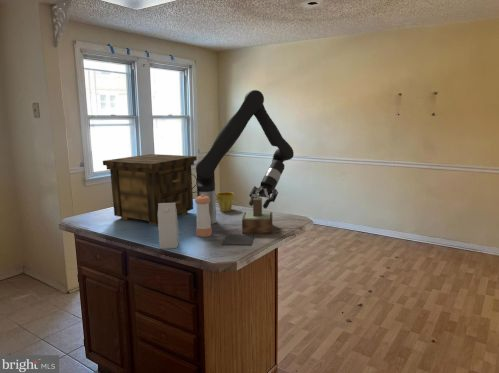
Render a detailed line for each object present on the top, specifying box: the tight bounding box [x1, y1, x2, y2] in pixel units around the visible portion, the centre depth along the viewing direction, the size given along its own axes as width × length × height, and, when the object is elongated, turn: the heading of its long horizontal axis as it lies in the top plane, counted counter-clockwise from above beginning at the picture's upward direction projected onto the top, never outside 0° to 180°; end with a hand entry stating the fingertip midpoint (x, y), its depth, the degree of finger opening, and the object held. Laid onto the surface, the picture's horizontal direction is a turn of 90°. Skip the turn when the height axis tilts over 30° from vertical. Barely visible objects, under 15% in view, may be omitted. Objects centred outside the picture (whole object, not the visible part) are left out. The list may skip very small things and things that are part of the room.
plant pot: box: [215, 191, 235, 212], centre depth 216 cm, size 10×10×10 cm
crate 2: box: [241, 211, 274, 235], centre depth 179 cm, size 14×14×7 cm
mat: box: [221, 234, 255, 246], centre depth 164 cm, size 13×13×1 cm
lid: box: [244, 197, 271, 220], centre depth 177 cm, size 12×12×9 cm
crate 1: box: [102, 153, 198, 226], centre depth 203 cm, size 35×35×33 cm
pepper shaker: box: [194, 194, 213, 238], centre depth 171 cm, size 7×7×19 cm
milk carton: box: [157, 203, 179, 250], centre depth 157 cm, size 7×7×19 cm
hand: (257, 206), depth 177 cm, fingers open, 8 cm apart
